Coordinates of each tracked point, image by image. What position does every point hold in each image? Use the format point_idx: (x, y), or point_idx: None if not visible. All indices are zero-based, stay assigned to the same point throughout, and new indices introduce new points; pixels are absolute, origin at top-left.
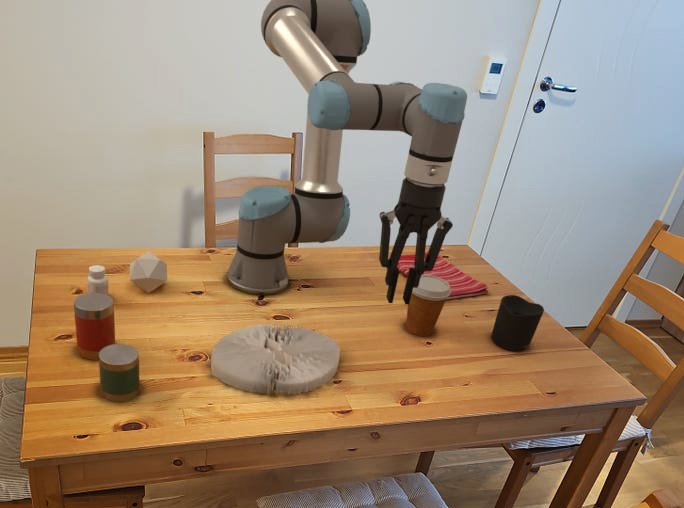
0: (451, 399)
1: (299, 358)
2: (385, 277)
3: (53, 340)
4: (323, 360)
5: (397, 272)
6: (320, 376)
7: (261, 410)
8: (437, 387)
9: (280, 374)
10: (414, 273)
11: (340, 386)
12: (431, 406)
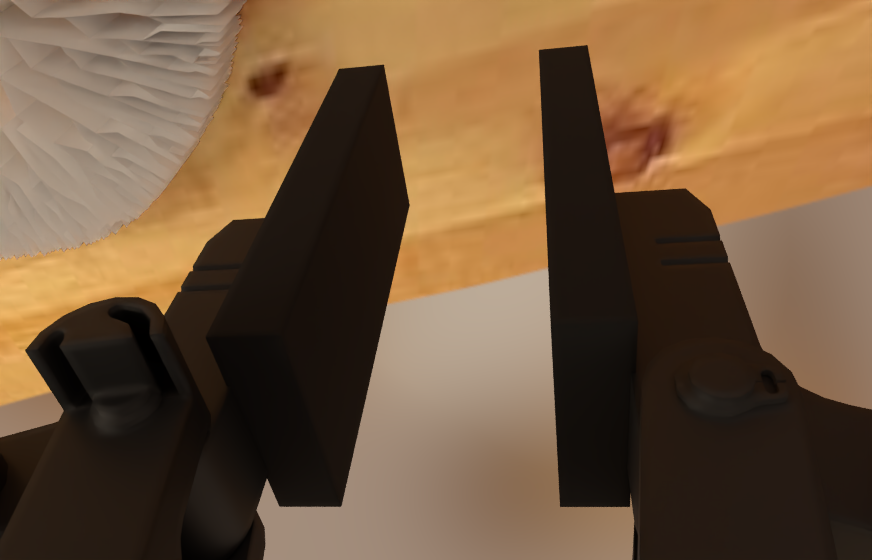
0: (842, 109)
1: (23, 37)
2: (196, 270)
3: None
4: (145, 39)
5: (312, 503)
6: (175, 166)
7: (53, 301)
8: (806, 14)
9: (7, 149)
10: (598, 497)
11: (288, 113)
12: (709, 179)
